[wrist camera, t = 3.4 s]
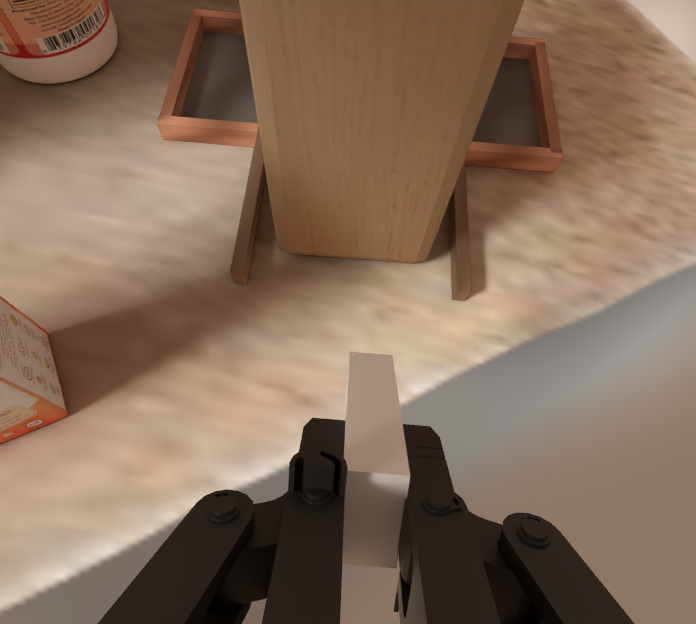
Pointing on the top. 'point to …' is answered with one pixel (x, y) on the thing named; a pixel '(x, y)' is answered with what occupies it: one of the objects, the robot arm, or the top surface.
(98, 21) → the fruit juice
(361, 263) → the top surface
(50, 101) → the top surface
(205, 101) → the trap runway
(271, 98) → the wooden block
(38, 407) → the cracker box
